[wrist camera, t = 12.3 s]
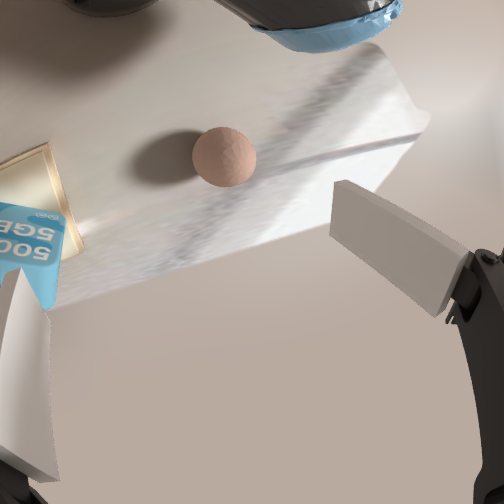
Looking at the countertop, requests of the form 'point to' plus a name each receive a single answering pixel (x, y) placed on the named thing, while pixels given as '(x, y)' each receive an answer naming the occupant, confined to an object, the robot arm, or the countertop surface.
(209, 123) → the countertop surface
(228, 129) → the egg
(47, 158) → the stand
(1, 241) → the blue box
